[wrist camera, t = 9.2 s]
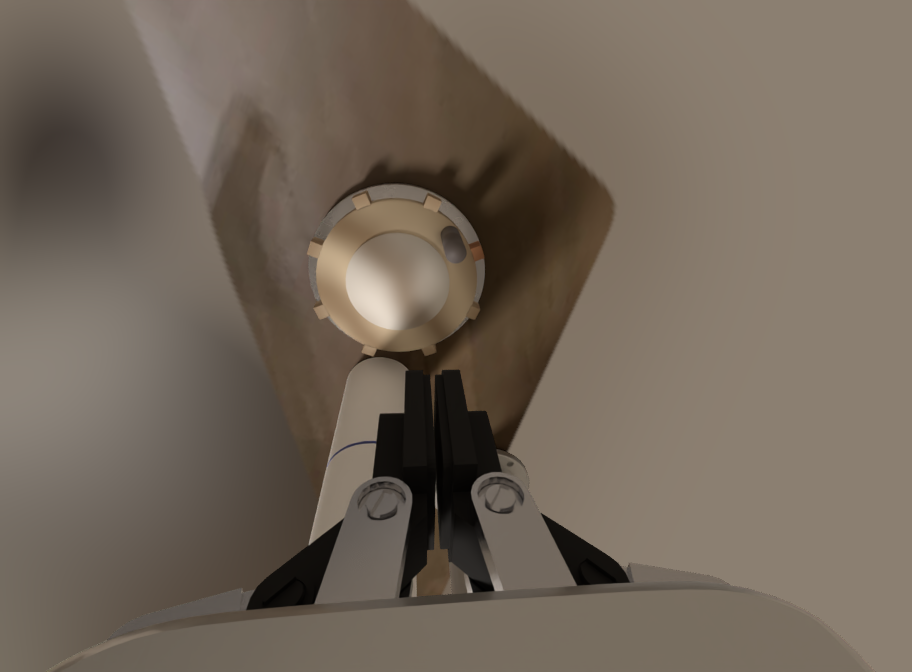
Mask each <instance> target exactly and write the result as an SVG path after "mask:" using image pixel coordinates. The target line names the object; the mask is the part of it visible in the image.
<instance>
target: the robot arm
mask: <svg viewBox="0 0 912 672" xmlns="http://www.w3.org/2000/svg"><path fill="white" fill-rule="evenodd" d="M528 489H529V478H528V474H527V471H526V469H525V466H524V465H523V464H522V462H521V461H520V460H519V459H518V458H517V457H515V456H514V455H512V454H510V453H508V452H505V451H502V450H499V449H496V446H495V442H494V438H493V434H492V430H491V426H490V423H489V419H488V415H487V412H486V411H468V410H467V405H466V400H465V395H464V389H463V384H462V379H461V374H460V370H442V375H435V402H434V427H433V412H432V398H431V384H430V375H423V370H409V371H405V401H404V413H381V414H380V415H379V422H378V431H377V440H376V449H375V458H374V467H373V476H372V479H370V480H368V481H366V482H364V483H363V484H361V485H360V486H359V487H358V488H357V489H356V490H355V492H354V494H353V495H352V497H351V500H350V503H349V506H348V509H347V511H346V514H345V517H344V518H343V519H342V520H341V521H339V522H338V523H337V524H336V525H334V526H333V527H332V528H330V529H329V530H328V531H326V532H325V533H324V534H323V535H321V536H320V537H319V538H317V539H316V540H315V541H314V542H312V543H311V544H310V545H308V546H307V547H306V548H305V549H303V550H302V551H301V552H299V553H298V554H297V555H295V556H294V557H293V558H291V559H290V560H289V561H288V562H286V563H285V564H284V565H282V566H281V567H280V568H279V569H277V570H276V571H275V572H273V573H272V574H271V575H269V576H268V577H267V578H266V579H265V580H264V581H263V582H262V583H261V584H260V585H259V586H258V587H257V588H256V589H255V590H251V591H248V592H244V593H243V590H242V588H240V589H236V590H233V591H229V592H225V593H222V594H218V595H214V596H211V597H207V598H204V599H200V600H197V601H193V602H189V603H186V604H182V605H179V606H175V607H171V608H168V609H164V610H160V611H157V612H153V613H150V614H146V615H143V616H140V617H138V618H136V619H134V620H131V621H129V622H127V623H126V624H125V625H123V626H122V627H120V628H119V629H118V630H117V631H115V632H114V633H113V634H112V635H111V636H110V637H109V638H108V639H107V641H105V642H102V643H100V644H98V645H95V646H93V647H90V648H88V649H86V650H84V651H82V652H80V653H78V654H76V655H74V656H72V657H70V658H68V659H67V660H65V661H63V662H61V663H59V664H58V665H56V666H54V667H53V668H51V669H49V670H47V671H46V672H876V671H875V670H874V669H873V668H872V667H871V666H870V665H869V664H868V663H867V662H866V661H865V660H864V659H863V658H862V657H861V656H860V655H859V654H858V652H857V651H855V649H853V648H852V647H851V646H850V645H849V644H848V643H847V642H846V641H845V640H844V639H843V638H842V637H841V636H840V635H839V634H837V632H835V631H834V630H833V629H832V628H831V627H830V626H828V625H827V624H826V623H824V622H823V621H822V620H821V619H819V618H818V617H816V616H815V615H813V614H811V613H810V612H808V611H806V610H805V609H803V608H800V607H798V606H796V605H794V604H792V603H790V602H787V601H785V600H782V599H780V598H777V597H775V596H771V595H768V594H765V593H762V592H758V591H755V590H752V589H748V588H743V587H737V586H732V585H730V584H728V583H726V582H725V581H723V580H722V579H719V578H716V577H713V576H709V575H703V574H696V573H691V572H685V571H679V570H672V569H666V568H660V567H654V566H648V565H641V564H635V563H629V565H628V567H624V566H620V565H619V564H618V563H617V562H616V561H615V560H614V559H612V558H611V557H610V556H608V555H607V554H605V553H603V552H602V551H600V550H599V549H597V548H596V547H594V546H593V545H591V544H589V543H588V542H586V541H585V540H583V539H581V538H580V537H578V536H577V535H575V534H573V533H572V532H570V531H569V530H567V529H566V528H564V527H562V526H561V525H559V524H558V523H556V522H555V521H553V520H551V519H550V518H548V517H547V516H545V515H543V514H542V513H540V511H539V509H538V507H537V505H536V504H535V501H534V500H533V498H532V496H531V494H530V492H529V490H528ZM435 507H436V509H437V510H438V524H439V539H440V549H448V558H449V567H450V578H451V590H452V594H448V595H434V596H420V597H412V590H413V578H414V577H415V576H416V575H417V574H418V573H419V572H420V571H421V570H422V569H423V568H424V567H425V566H426V564H427V550H434V530H435Z"/></svg>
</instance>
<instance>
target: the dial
mask: <svg viewBox="0 0 912 672" xmlns="http://www.w3.org/2000/svg"><path fill="white" fill-rule="evenodd" d="M352 201H353V203H354V205H355V207H356V208H355V209H353V210H352V211H350V212H349V213H347V214H346V215H345V216H344V217H343V218H341V219H340V220H339V221H338V222H337V224H336V225H335V226H334V227H333V228H332V230H331V231H330V233H329V235H328V236H327V238H326V240H322V239H320V238H317V237H314V238H313V239H312V241H311V243H310V246H309V249H308V252H307V255H310V256H312V257H315V258H318V261H317V268H316V282H317V288H318V293H319V296H320V299H321V300H319V301H317V302H316V304H315V306H314V308H313V309H314V310H315V312H316V314H317V315H318V317H319V319H323V318H325V317H328V316H330V318H331V319H332V320H333V321H334V322H335V324H336V325H337V326H338V327H339V328H340V329H341V330H342V331H344V332H345V333H346V334H347V335H349V336H350V337H352V338H353V339H355V340H357V341H358V342H360V343H362V344H363V348H362V353H364V354H367V355H370V356H373V357H374V354H375V352H376V350H377V349H379V350H385V351H394V352H404V351H413V350H419V349H422V351H423V353H424V355H425V356H427V355H430V354H433V353H436V344H435V343H437V342H439V341H441V340H442V339H444V338H446V337H447V336H448V335H450V334H451V333H452V332H453V331H454V330H455V329H456V328H457V327H458V326H459V325H460V324H461V323H462V321H463V320H464V319H465V317H468V318H471V319H473V320H475V319H476V317H477V315H478V313H479V311H480V307H479V304H478V303H477V302H475V301H474V297H475V294H476V287H477V271H476V264H475V262H476V261H478V260H481V259H484V258H485V256H484V253H483V250H482V247H481V245H480V243H479V241H476V242H473V243H471V244H468V242H467V240H466V238H465V237H464V235H463V233H462V232H461V231H460V229H459V228H458V227H457V226H456V224H455V223H454V222H453V221H451V220H450V219H449V218H448V217H447V216H446V215H444V214H443V213H442V212H440V211H439V210H438V209H439V207H440V205H441V203H442V201H441V198H438V197H436V196H434V195H432V194H430V193H428V192H427V195H426V197H425V199H424V202H423V203H422V202H419V201H415V200H411V199H404V198H385V199H379V200H374V201H372V200H371V197H370V195H369V193H368V191H367V190H366V191H364V192H361V193H359V194H356V195H354V196H353V197H352Z"/></svg>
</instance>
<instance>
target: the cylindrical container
mask: <svg viewBox="0 0 912 672" xmlns="http://www.w3.org/2000/svg"><path fill="white" fill-rule="evenodd" d="M405 371H409V370H408V369H407V368H406V367H405V366H404V365H403V364H401V363H400V362H398V361H396V360H393V359H390V358H385V357H374V358H369V359H366V360H364V361H362V362H360V363H358V364H357V365H356V366H355V367H354V368H353V369H352V370H351V372H350V373H349V376H348V378H347V383H346V387H345V391H344V395H343V400H342V404H341V408H340V413H339V417H338V421H337V425H336V430H335V434H334V438H333V443H332V447H331V451H330V456H329V460H328V464H327V468H326V473H325V477H324V481H323V486H322V490H321V494H320V498H319V503H318V507H317V511H316V516H315V520H314V524H313V528H312V533H311V537H310V542H309V545H310V544H311V543H312V542H314V541H315V540H316V539H317V538H319V537H320V536H321V535H323V534H324V533H325V532H326V531H328V530H329V529H330V528H332V527H333V526H334V525H336V524H337V523H338V522H339V521H341V520H342V519H343V518H344V517H345V514H346V511H347V509H348V506H349V503H350V500H351V497H352V495H353V494H354V492H355V490H356V489H357V488H358V487H359V486H360V485H361V484H363V483H364V482H366V481H368V480H370V479H372V476H373V467H374V458H375V449H376V440H377V431H378V422H379V415H380V414H381V413H404V401H405ZM412 597H417V589H416V576H415V577H414V578H413V590H412Z"/></svg>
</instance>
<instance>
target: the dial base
mask: <svg viewBox="0 0 912 672" xmlns="http://www.w3.org/2000/svg"><path fill="white" fill-rule="evenodd" d="M366 190H367V191H368V193H369V195H370V197H371V200H372V201H374V200H379V199H385V198H404V199H411V200H415V201H419V202H422V203H423V202H424V199H425V197H426V195H427V192H428V193H430V194H432V195H434V196H436V197H438V198H441V201H442V203H441V205H440V207H439V209H438V210H439V211H440V212H442V213H443V214H444V215H446V216H447V217H448V218H449V219H450V220H451V221H453V222H454V223H455V224H456V226H457V227H458V228H459V229H460V231H461V232H462V233H463V235H464V237H465V238H466V240H467V242H468V244H471V243H473V242H476V241H479V239H478V237H477V235H476V233H475V231H474V229H473V227H472V226H471V224H470V222H469V221H468V220H467V218H466V217H465V216H464V215H463V213H462V212H461V211H460V210H459V209H458V208H457V207H456V206H455V205H454V204H452V203H451V202H450V201H448V200H447V199H446V198H444V197H443V196H441V195H439V194H437V193H435V192H433V191H431V190H428V189H426V188H423V187H420V186H416V185H412V184H405V183H383V184H378V185H372V186H369V187H366V188H363V189H360V190H358V191H356V192H354V193H352V194H350V195H349V196H347V197H346V198H344V199H343V200H341V201H340V202H339V203H338V204H337V205H336V206H335V207H333V208H332V209H331V211H330V212H329V213H328V214H327V216H326V217H325V218H324V219H323V221H322V222H321V224H320V226H319V227H318V229H317V231H316V233H315V236H314V237H317V238H320V239H322V240H326V238H327V236H328V235H329V233H330V231H331V230H332V228H333V227H334V226H335V225H336V224H337V222H338V221H339V220H340V219H341V218H343V217H344V216H345V215H346V214H347V213H349V212H350V211H352V210H353V209H355V208H356V207H355V205H354V203H353V201H352V197H353V196H354V195H356V194H359V193H361V192H364V191H366ZM479 243H480V242H479ZM480 245H481V244H480ZM317 261H318V258H315V257H312V256H310V255H309V263H308V266H309V278H310V283H311V287H312V290H313V293H314V296H315V298H316V300H317V301H319V300H321V299H320V296H319V293H318V288H317V282H316V268H317ZM475 264H476V271H477V287H476V294H475V297H474V301H475V302H477V303H478V301H479V299H480V297H481V293H482V290H483V285H484V279H485V263H484V259H481V260H478V261H476V262H475ZM328 319H329V320H330V321H331V322H332V323H333V324H334V325H335V326H336V327H337V328H338V329H340V328H339V327H338V326H337V325H336V324H335V322H334V321H333V320H332V319H331V318H330V316H328ZM467 320H468V317H465V319H464V320H463V321H462V323H461V324H460V325H459V326H458V327H457V328H456V329H455V330H454V331H453V332H452V333H451V334H450V335H452V334H453V333H454V332H456V331H457V330H458V329H459V328H460V327H461V326H462V325H463V324H464V323H465V322H466V321H467ZM340 330H341V329H340ZM341 331H342V330H341ZM342 332H343V333H345V332H344V331H342ZM345 334H346V333H345ZM346 335H347V334H346ZM450 335H448V336H447V337H449V336H450ZM348 336H349V335H348ZM349 337H350V336H349ZM447 337H446V338H447ZM351 338H352V337H351ZM446 338H444V339H446ZM352 339H353V338H352ZM444 339H442V340H444ZM354 340H355V339H354ZM442 340H441V341H442ZM356 341H357V340H356ZM441 341H439V342H441ZM437 343H438V342H437ZM435 344H436V343H435Z"/></svg>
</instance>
